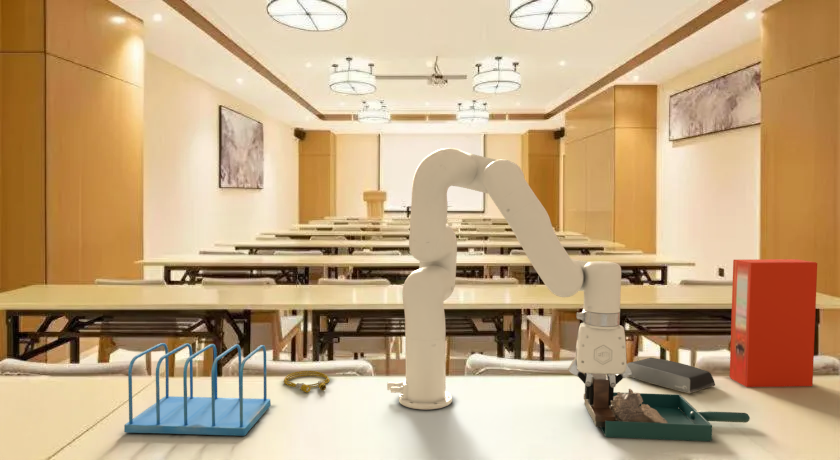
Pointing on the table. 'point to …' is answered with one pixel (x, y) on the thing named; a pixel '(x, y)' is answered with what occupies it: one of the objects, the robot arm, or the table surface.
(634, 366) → the hard drive
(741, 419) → the dustpan
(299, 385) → the gold rope bracelet
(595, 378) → the brown stepped block
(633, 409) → the rock
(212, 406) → the file sorter
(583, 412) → the table surface
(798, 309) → the file binder
